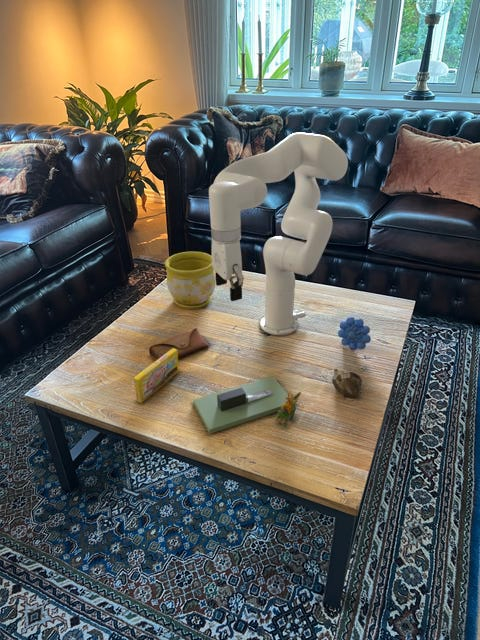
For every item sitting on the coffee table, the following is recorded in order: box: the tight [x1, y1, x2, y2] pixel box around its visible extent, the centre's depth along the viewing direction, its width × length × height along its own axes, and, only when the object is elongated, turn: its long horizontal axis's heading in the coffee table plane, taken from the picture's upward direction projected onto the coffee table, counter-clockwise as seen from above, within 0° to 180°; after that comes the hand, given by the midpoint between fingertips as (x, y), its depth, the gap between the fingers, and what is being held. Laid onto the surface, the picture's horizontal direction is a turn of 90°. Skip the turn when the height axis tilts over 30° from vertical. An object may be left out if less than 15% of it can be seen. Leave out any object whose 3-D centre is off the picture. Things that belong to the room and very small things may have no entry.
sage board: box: [192, 375, 291, 435], centre depth 117 cm, size 24×12×2 cm, turn 114°
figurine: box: [275, 391, 302, 428], centre depth 111 cm, size 3×12×8 cm, turn 144°
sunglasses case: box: [148, 327, 211, 362], centre depth 139 cm, size 18×7×7 cm, turn 130°
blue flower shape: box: [337, 316, 372, 352], centre depth 136 cm, size 12×7×12 cm, turn 40°
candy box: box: [133, 348, 180, 404], centre depth 122 cm, size 16×2×8 cm, turn 148°
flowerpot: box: [164, 251, 216, 310], centre depth 162 cm, size 18×18×16 cm
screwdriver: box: [217, 388, 272, 411], centre depth 116 cm, size 15×3×4 cm, turn 114°
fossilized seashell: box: [331, 368, 363, 398], centre depth 122 cm, size 8×7×10 cm
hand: (228, 291), depth 121 cm, fingers open, 9 cm apart
